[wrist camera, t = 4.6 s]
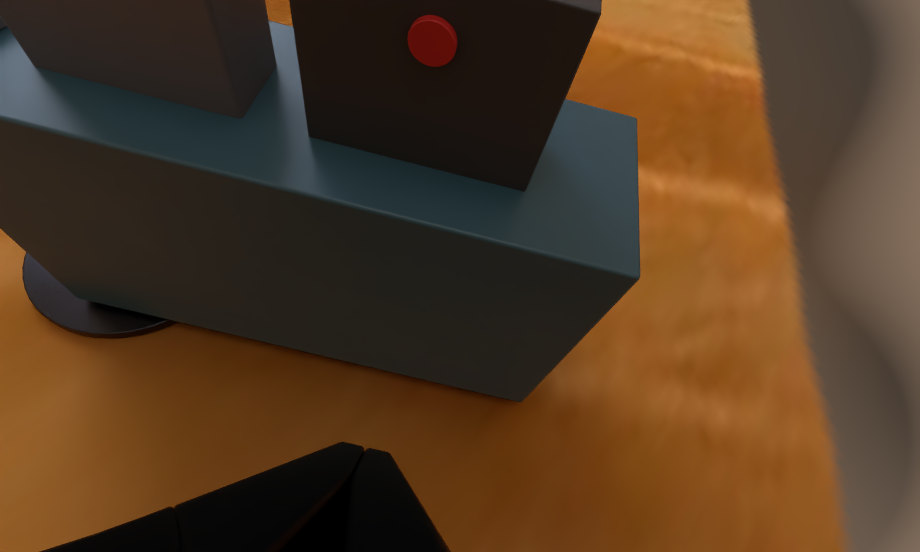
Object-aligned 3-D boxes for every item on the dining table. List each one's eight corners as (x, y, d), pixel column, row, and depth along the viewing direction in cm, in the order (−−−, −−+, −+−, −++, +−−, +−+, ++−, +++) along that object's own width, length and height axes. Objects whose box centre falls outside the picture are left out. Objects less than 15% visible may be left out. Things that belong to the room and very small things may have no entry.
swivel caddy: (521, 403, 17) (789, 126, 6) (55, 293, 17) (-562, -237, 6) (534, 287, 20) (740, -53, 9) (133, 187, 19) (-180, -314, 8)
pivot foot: (183, 359, 17) (179, 354, 17) (-19, 311, 17) (-27, 306, 16) (262, 208, 21) (260, 202, 20) (98, 167, 20) (94, 161, 20)
